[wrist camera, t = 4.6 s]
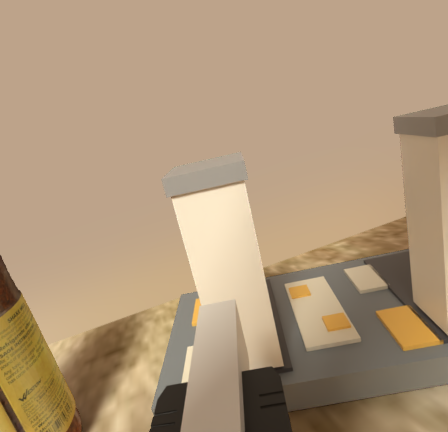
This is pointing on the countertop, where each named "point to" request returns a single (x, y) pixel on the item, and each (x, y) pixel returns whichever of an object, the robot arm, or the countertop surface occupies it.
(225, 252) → the slider
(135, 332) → the countertop surface
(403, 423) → the countertop surface
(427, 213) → the slider
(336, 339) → the console
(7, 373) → the sauce bottle
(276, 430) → the robot arm
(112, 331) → the countertop surface
